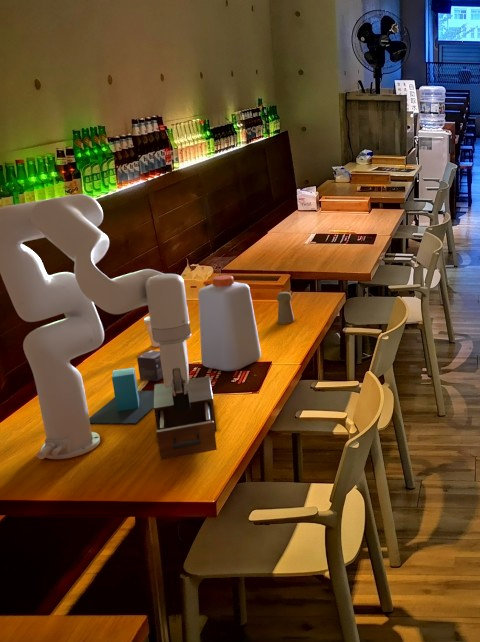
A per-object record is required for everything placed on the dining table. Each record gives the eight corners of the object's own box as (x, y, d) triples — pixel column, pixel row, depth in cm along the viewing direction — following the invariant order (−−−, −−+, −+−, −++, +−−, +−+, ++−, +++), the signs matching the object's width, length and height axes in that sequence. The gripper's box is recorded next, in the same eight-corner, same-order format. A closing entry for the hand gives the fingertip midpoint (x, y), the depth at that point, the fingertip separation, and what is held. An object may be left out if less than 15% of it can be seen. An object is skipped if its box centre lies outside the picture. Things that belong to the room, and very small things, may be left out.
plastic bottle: (267, 357, 234) (259, 274, 226) (232, 374, 221) (222, 286, 213) (231, 350, 240) (222, 268, 233) (196, 366, 227) (185, 280, 219)
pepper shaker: (274, 322, 267) (271, 294, 264) (283, 317, 272) (281, 289, 270) (288, 324, 265) (286, 295, 262) (297, 319, 271) (295, 291, 268)
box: (157, 381, 216) (154, 358, 214) (139, 380, 217) (136, 357, 215) (170, 373, 222) (167, 351, 220) (152, 372, 223) (149, 350, 221)
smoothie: (171, 341, 249) (166, 302, 245) (163, 348, 243) (158, 308, 239) (152, 341, 248) (147, 302, 245) (144, 348, 242) (138, 308, 239)
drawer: (217, 457, 171) (214, 429, 169) (160, 469, 166) (156, 440, 164) (213, 424, 187) (210, 398, 185) (160, 433, 183) (157, 407, 181)
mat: (136, 424, 189) (136, 423, 189) (83, 424, 190) (83, 422, 189) (171, 392, 209) (171, 390, 208) (123, 392, 209) (122, 390, 209)
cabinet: (216, 431, 186) (212, 398, 183) (158, 441, 180) (153, 408, 178) (213, 406, 199) (209, 376, 197) (159, 415, 194) (154, 384, 192)
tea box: (138, 408, 198) (133, 374, 195) (117, 411, 196) (111, 377, 193) (139, 400, 202) (134, 367, 200) (118, 403, 200) (113, 370, 198)
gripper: (153, 323, 161) (164, 399, 166) (151, 345, 148) (164, 427, 153) (189, 319, 164) (199, 393, 169) (191, 339, 151) (202, 420, 156)
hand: (182, 409), depth 161 cm, fingers closed
